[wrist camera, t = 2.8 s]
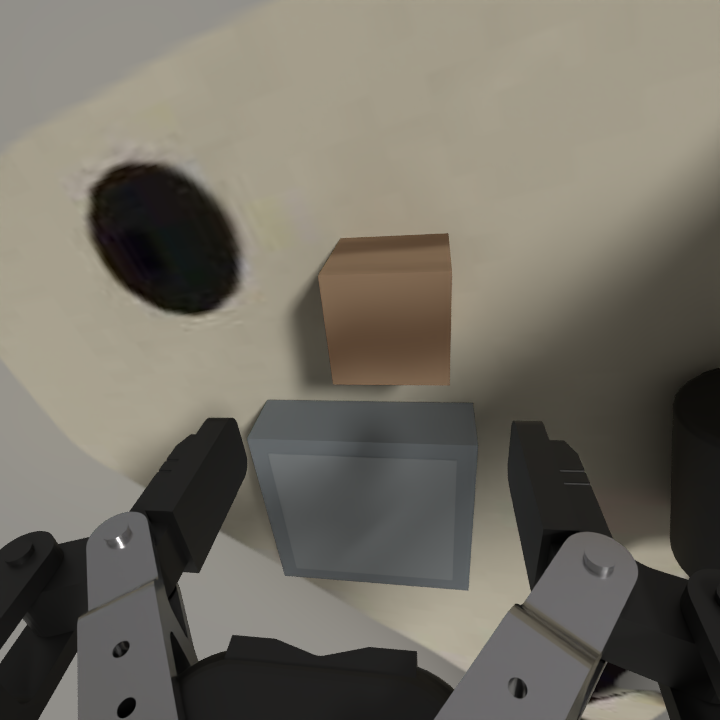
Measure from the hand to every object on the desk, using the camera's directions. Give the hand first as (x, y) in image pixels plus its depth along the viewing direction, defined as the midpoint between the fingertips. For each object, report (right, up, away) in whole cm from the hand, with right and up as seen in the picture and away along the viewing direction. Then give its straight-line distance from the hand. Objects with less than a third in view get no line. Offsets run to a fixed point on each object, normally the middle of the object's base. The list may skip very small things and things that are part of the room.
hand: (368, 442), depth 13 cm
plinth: (+1, -5, +16) cm, 17 cm away
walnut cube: (+2, +6, +9) cm, 11 cm away
